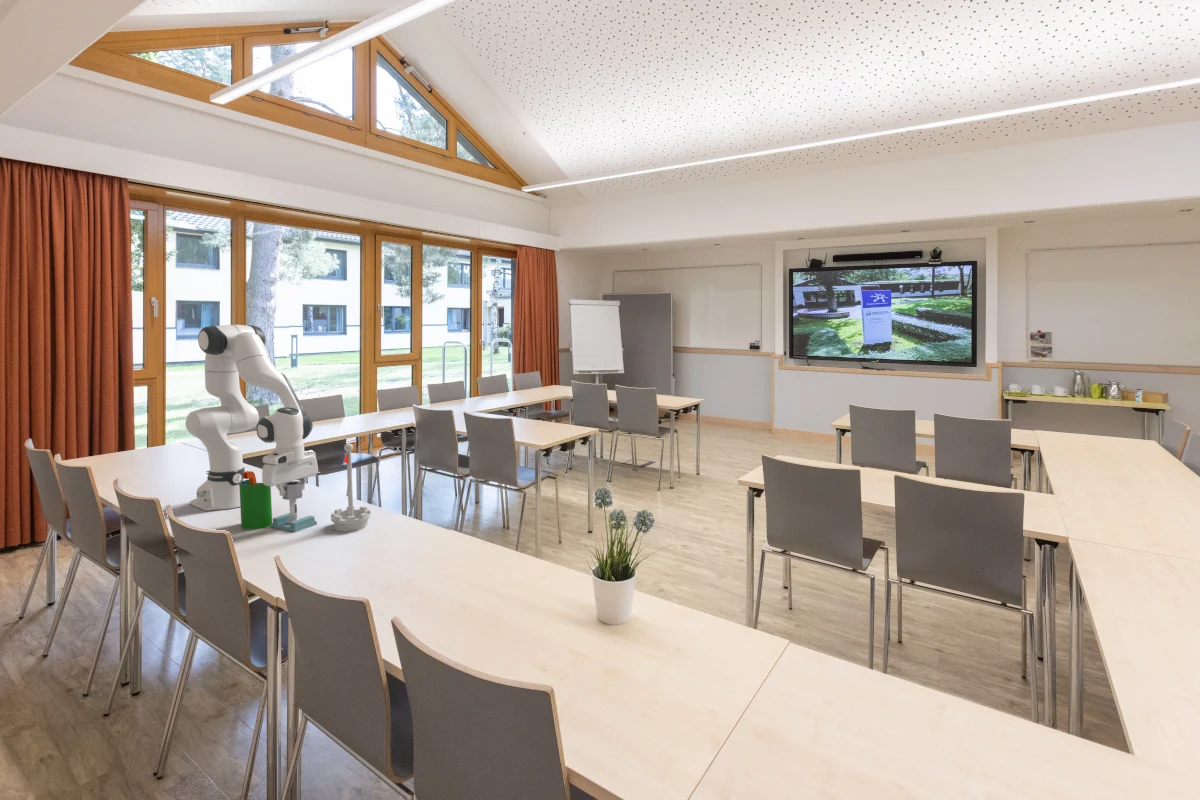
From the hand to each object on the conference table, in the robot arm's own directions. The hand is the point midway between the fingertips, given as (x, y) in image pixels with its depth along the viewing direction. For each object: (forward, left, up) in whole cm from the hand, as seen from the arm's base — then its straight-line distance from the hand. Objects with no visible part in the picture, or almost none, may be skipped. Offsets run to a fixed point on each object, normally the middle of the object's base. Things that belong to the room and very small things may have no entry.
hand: (292, 492), depth 218 cm
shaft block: (0, 0, -12) cm, 12 cm away
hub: (0, 0, -2) cm, 2 cm away
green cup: (-12, -5, -12) cm, 18 cm away
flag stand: (+18, +9, -12) cm, 24 cm away
